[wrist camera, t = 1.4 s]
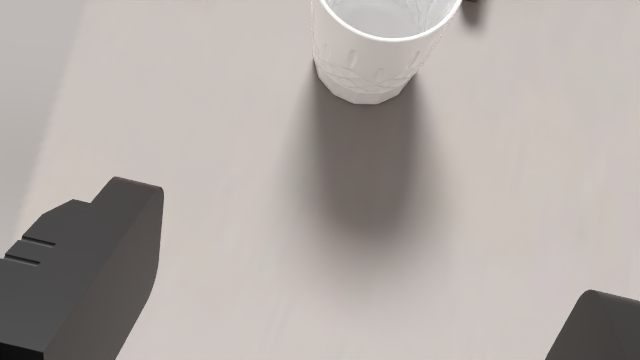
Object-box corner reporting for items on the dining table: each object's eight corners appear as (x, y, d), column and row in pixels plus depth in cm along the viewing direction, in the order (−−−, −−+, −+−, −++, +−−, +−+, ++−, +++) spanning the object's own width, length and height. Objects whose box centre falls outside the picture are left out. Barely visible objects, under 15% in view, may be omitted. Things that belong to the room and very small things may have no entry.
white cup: (352, -17, 41) (373, -123, 32) (445, 51, 40) (496, -38, 31) (280, 66, 39) (278, -21, 30) (376, 138, 39) (406, 73, 29)
